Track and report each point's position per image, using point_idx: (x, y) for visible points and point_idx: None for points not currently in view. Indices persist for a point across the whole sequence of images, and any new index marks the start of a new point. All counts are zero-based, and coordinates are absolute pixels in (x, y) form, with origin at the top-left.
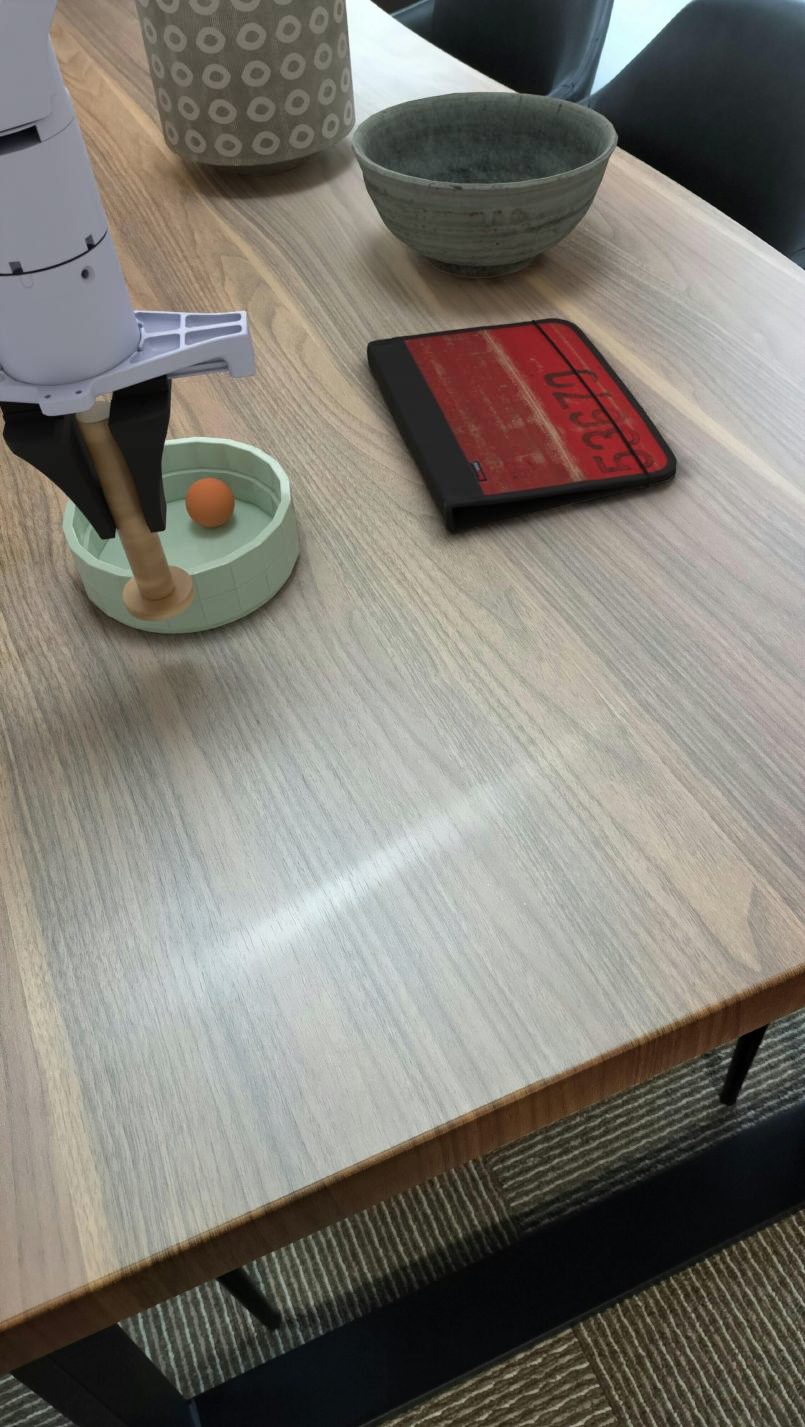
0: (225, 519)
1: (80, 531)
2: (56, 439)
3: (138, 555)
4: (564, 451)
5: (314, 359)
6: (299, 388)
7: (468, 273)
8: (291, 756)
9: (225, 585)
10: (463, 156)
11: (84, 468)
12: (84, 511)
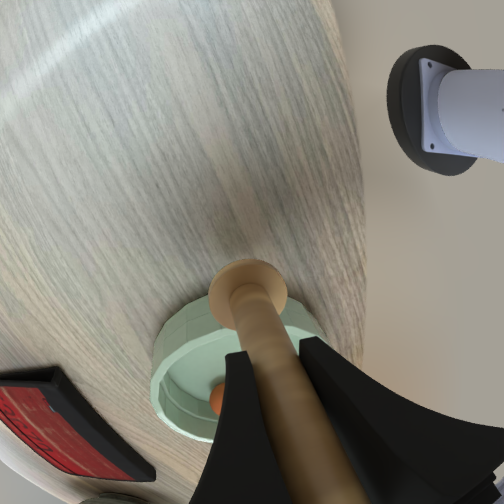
0: (214, 388)
1: None
2: (453, 496)
3: (266, 323)
4: (16, 407)
5: (188, 473)
6: (192, 461)
7: (124, 496)
8: (124, 146)
9: (194, 323)
10: None
11: (358, 437)
12: (350, 366)
